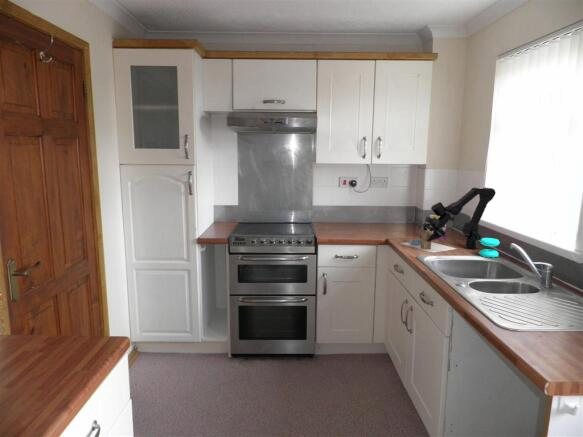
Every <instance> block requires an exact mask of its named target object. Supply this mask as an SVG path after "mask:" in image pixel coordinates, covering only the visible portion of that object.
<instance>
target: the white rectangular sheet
mask: <svg viewBox="0 0 583 437" xmlns="http://www.w3.org/2000/svg"><path fill="white" fill-rule="evenodd" d="M400 244H401V245H403V246H404V245H405V246H407V247H411V248H415V249H419V250H422V251H426V252H430V253H437V252H438V253H439V252H445V251H446V252H447V251H452V250H457V248H455V247H452V246H448V245H444V244H440V243H436V242H433V241H431V249H425V250H424V249H422V248H421V246H419V245H411V244H410V241H409V242H406V241H405V242H400Z"/></svg>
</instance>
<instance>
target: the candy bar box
mask: <svg viewBox="0 0 583 437" xmlns="http://www.w3.org/2000/svg"><path fill="white" fill-rule="evenodd" d="M429 217H430V218H433V217H434V218H437V219H438V218H439V217H440V216H437V215H436V214H429ZM428 224H430V223H428ZM430 226H431V225H430ZM445 226H446V227H443V228H442V229H443V230H444V232H445V233H447V232H446V231H447V224H446V225H445ZM432 234H433V231H432ZM437 240H446V235H445V236H444V237H441V238H438V239H437Z"/></svg>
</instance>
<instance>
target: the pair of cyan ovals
mask: <svg viewBox="0 0 583 437" xmlns="http://www.w3.org/2000/svg"><path fill="white" fill-rule="evenodd" d="M500 243H501V242H500V241H499V239H497V238H490V237H482V238H480V244H481V245H483V246H484V247H485V246H486V247H498V246H500ZM479 256H481V257H484V258H487V257H492V258H491V259H495V257H496V258H498V257H499V252H498V251H497V250H495V249H488V248H484V249H481V250H479Z"/></svg>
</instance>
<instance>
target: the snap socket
mask: <svg viewBox="0 0 583 437" xmlns="http://www.w3.org/2000/svg"><path fill="white" fill-rule="evenodd" d="M409 242H410V244H411V245H419V246H421V239H409Z"/></svg>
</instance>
